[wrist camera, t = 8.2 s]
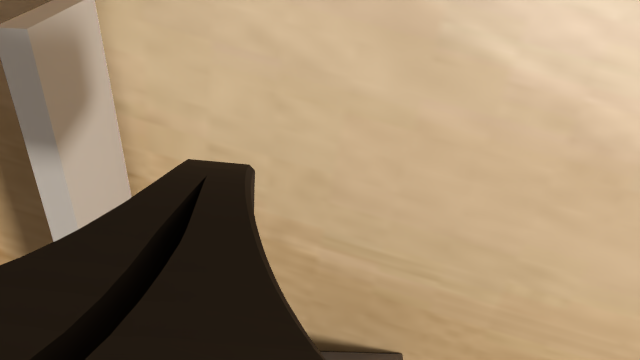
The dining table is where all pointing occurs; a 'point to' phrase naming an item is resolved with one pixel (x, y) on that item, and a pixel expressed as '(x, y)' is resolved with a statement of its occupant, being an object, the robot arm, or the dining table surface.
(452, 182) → the dining table surface
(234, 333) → the robot arm
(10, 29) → the side door
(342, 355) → the camera case
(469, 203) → the dining table surface
